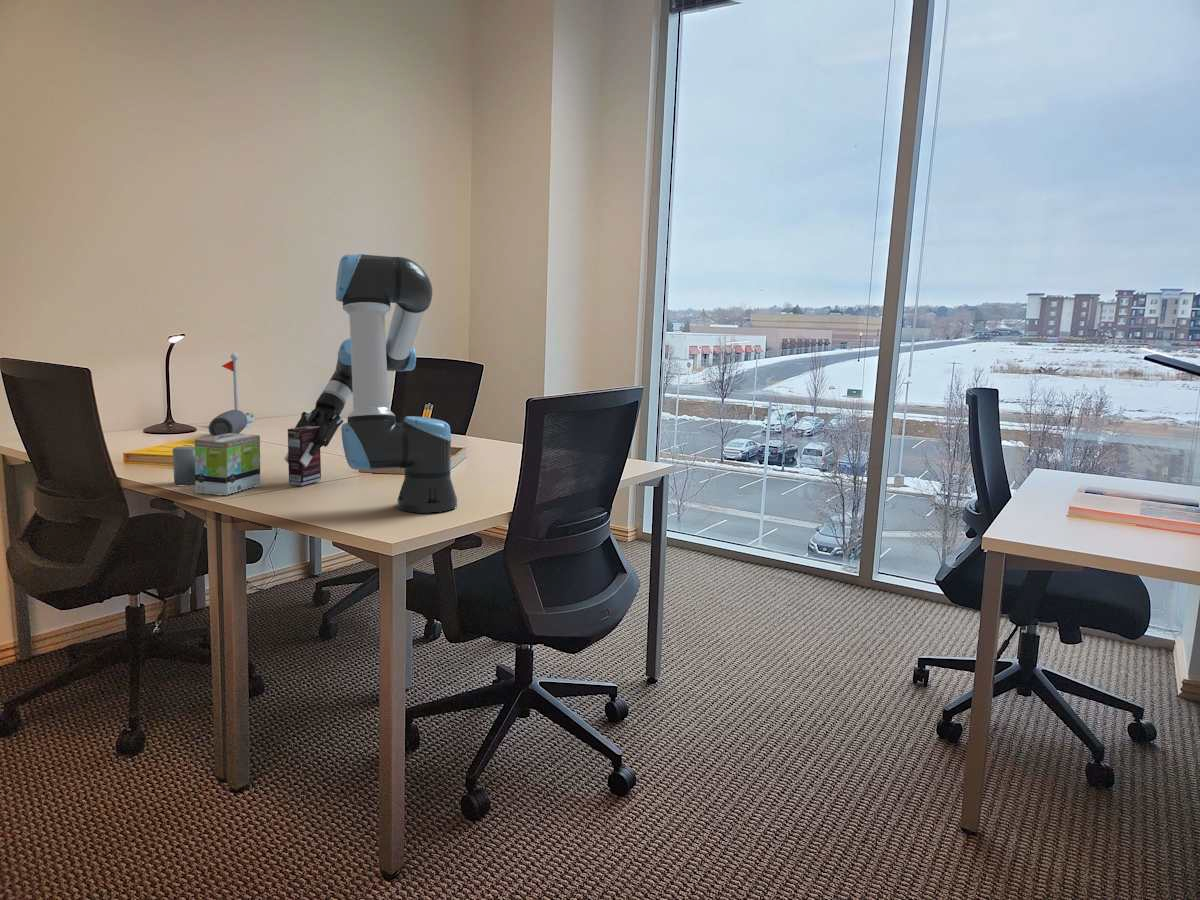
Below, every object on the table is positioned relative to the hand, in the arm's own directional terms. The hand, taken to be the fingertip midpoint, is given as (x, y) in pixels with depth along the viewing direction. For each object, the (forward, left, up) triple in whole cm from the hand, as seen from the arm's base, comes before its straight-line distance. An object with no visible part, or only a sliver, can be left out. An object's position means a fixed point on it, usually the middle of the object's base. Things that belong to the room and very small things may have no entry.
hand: (295, 462), depth 234 cm
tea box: (+12, +12, -7) cm, 19 cm away
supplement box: (0, -4, -7) cm, 8 cm away
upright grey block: (+27, +12, -7) cm, 30 cm away
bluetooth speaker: (+77, -52, -7) cm, 93 cm away
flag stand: (+96, -75, -7) cm, 122 cm away
